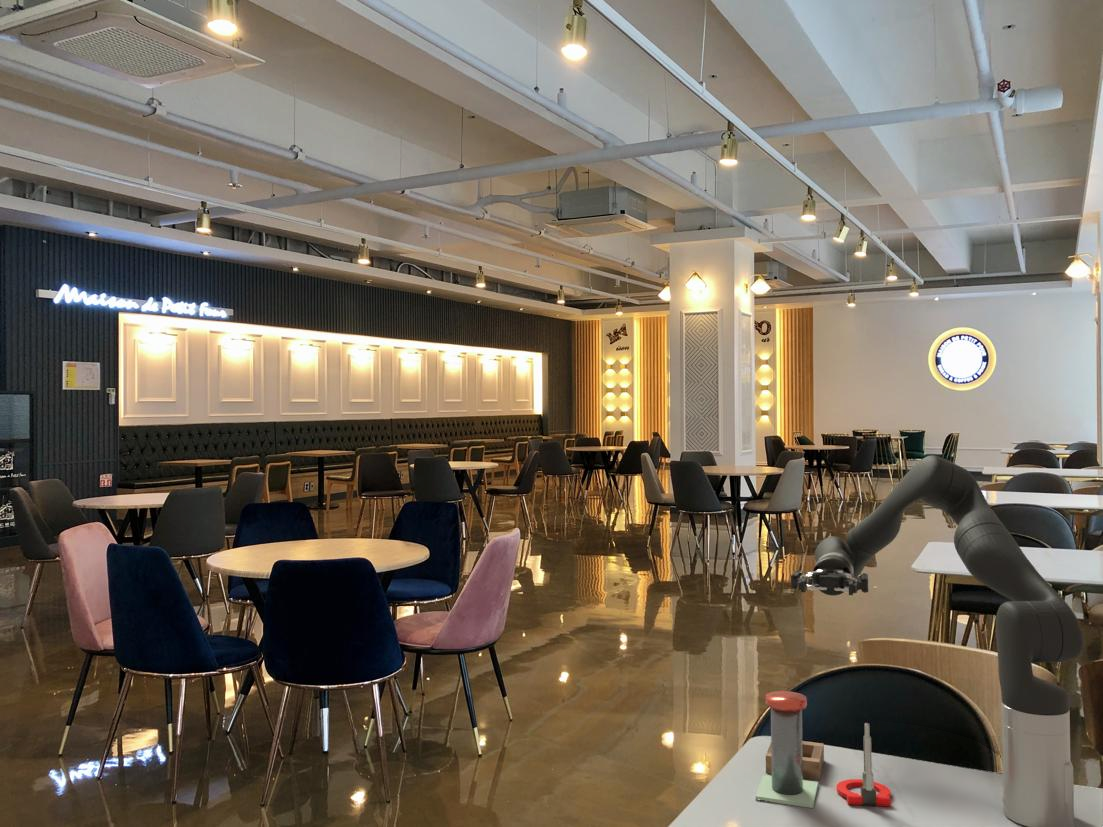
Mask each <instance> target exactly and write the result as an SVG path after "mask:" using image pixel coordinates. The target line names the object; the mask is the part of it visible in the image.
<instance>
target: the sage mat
mask: <svg viewBox="0 0 1103 827" xmlns="http://www.w3.org/2000/svg"><path fill="white" fill-rule="evenodd" d="M818 787H819V781H814V780H805V779H803V792H802V793H800V794H798V795H783V794H780V793H777V792H775V791H774V790H773V789H772V775H770V774H769V775H767V774H763V776H762V778H761V781H760V783H759V785H758V788H757V791H756V794H755V800H756V799H760V800H767V801H770V802H769V803H775V804H776V803H777V804H783V805H788V806H796V807H803V808H812V809H813V808H814V805H815V801H816V796H817V792H818ZM760 800H759V801H760ZM767 801H766V802H767Z"/></svg>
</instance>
